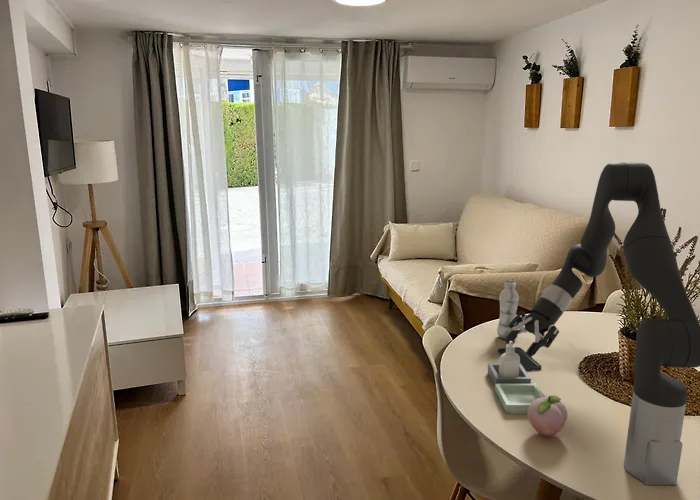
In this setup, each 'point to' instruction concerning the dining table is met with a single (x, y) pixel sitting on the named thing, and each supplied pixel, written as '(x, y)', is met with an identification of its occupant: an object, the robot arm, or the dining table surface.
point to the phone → (524, 359)
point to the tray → (517, 397)
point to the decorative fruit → (547, 415)
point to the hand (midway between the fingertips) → (517, 348)
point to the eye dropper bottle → (509, 362)
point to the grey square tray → (522, 379)
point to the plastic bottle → (507, 308)
